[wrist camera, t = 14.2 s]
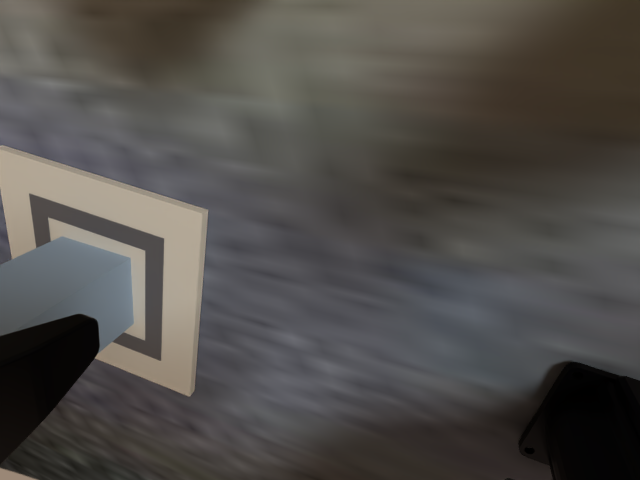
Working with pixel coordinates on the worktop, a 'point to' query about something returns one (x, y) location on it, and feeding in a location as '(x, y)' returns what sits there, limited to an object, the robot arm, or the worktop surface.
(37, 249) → the blue block
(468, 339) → the worktop surface
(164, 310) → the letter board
